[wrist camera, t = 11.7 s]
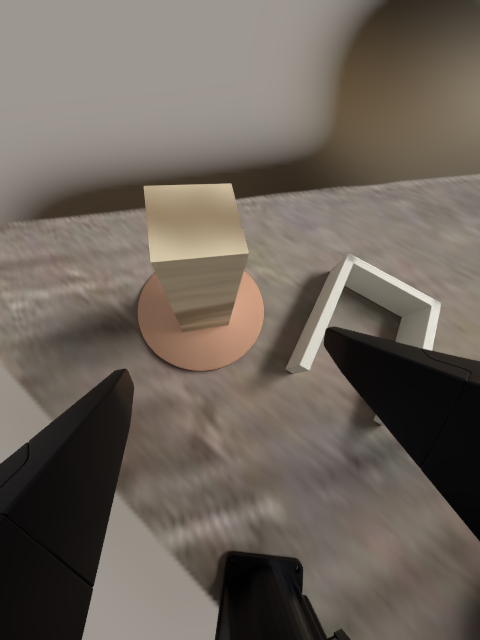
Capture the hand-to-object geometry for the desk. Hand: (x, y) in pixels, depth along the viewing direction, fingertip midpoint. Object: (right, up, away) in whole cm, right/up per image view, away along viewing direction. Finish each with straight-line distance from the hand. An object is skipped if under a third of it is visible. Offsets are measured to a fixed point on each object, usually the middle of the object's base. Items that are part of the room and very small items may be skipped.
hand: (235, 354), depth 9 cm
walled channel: (+14, -1, +16) cm, 21 cm away
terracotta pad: (-4, +3, +15) cm, 16 cm away
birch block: (-4, +3, +14) cm, 15 cm away
